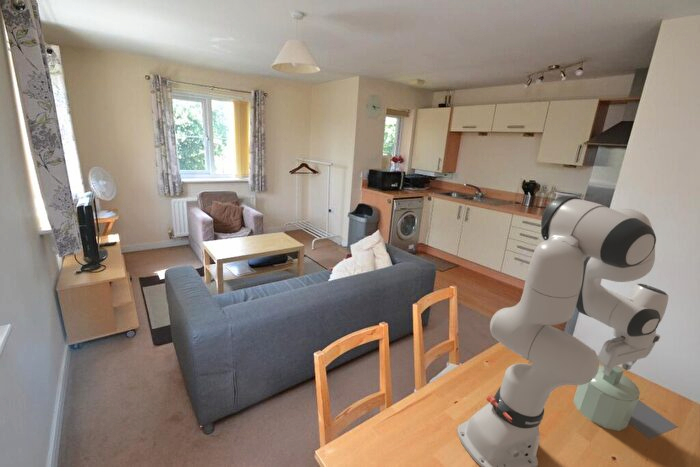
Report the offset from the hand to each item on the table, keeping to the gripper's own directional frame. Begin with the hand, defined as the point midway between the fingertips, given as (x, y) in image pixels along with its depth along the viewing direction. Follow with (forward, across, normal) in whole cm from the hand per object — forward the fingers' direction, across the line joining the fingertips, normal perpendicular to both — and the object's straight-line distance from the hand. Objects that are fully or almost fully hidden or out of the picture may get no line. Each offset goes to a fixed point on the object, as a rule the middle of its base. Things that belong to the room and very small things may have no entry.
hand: (616, 371), depth 101 cm
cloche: (+17, 0, 0) cm, 17 cm away
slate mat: (+17, +12, -4) cm, 21 cm away
